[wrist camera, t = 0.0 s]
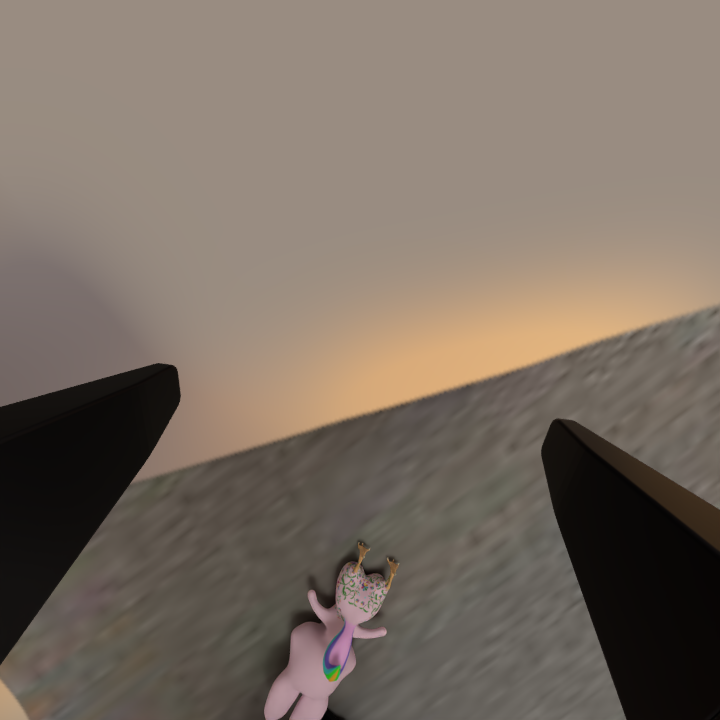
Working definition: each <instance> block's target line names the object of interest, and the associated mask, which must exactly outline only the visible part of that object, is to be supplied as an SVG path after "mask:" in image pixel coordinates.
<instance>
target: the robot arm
mask: <svg viewBox="0 0 720 720" xmlns="http://www.w3.org/2000/svg"><path fill="white" fill-rule="evenodd" d="M180 397H181V395H180V387H179V378H178V371H177V369H176V367H175V366H173V365H168V364H160V363H157V364H153V365H150V366H146V367H142V368H139V369H135V370H131V371H128V372H124V373H120V374H117V375H114V376H110V377H106V378H102V379H99V380H95V381H92V382H88V383H84V384H81V385H78V386H74V387H70V388H67V389H63V390H60V391H56V392H52V393H49V394H45V395H41V396H38V397H34V398H31V399H27V400H23V401H20V402H16V403H13V404H9V405H6V406H2V407H0V665H1V664H2V662H3V661H4V659H5V658H6V657H7V655H8V654H9V652H10V651H11V650H12V648H13V647H14V645H15V644H16V643H17V641H18V640H19V638H20V637H21V636H22V634H23V633H24V631H25V630H26V629H27V627H28V626H29V624H30V623H31V622H32V620H33V619H34V617H35V616H36V615H37V613H38V612H39V610H40V609H41V608H42V606H43V605H44V603H45V602H46V601H47V599H48V598H49V596H50V595H51V594H52V592H53V591H54V589H55V588H56V587H57V585H58V584H59V582H60V581H61V580H62V578H63V577H64V575H65V574H66V573H67V571H68V570H69V568H70V567H71V566H72V564H73V563H74V561H75V560H76V559H77V557H78V556H79V554H80V553H81V552H82V550H83V549H84V547H85V546H86V545H87V543H88V542H89V540H90V539H91V538H92V536H93V535H94V533H95V532H96V531H97V529H98V528H99V526H100V525H101V524H102V522H103V521H104V519H105V518H106V517H107V515H108V514H109V512H110V511H111V510H112V508H113V507H114V505H115V504H116V503H117V501H118V500H119V498H120V497H121V496H122V494H123V493H124V491H125V490H126V489H127V487H128V486H129V484H130V483H131V482H132V480H133V479H134V477H135V476H136V475H137V473H138V472H139V470H140V469H141V468H142V466H143V465H144V463H145V462H146V460H147V459H148V457H149V456H150V454H151V453H152V451H153V449H154V448H155V446H156V444H157V442H158V441H159V439H160V437H161V435H162V434H163V432H164V430H165V428H166V426H167V425H168V423H169V421H170V419H171V417H172V415H173V414H174V412H175V410H176V409H177V407H178V405H179V402H180ZM541 456H542V461H543V465H544V470H545V474H546V479H547V483H548V488H549V492H550V496H551V501H552V505H553V509H554V513H555V516H556V519H557V522H558V525H559V528H560V531H561V534H562V537H563V540H564V543H565V545H566V548H567V551H568V554H569V557H570V560H571V562H572V565H573V568H574V571H575V574H576V577H577V580H578V582H579V585H580V588H581V591H582V594H583V597H584V600H585V602H586V605H587V608H588V611H589V614H590V617H591V620H592V622H593V625H594V628H595V631H596V634H597V637H598V640H599V642H600V645H601V648H602V651H603V654H604V657H605V660H606V662H607V665H608V668H609V671H610V674H611V677H612V680H613V682H614V685H615V688H616V691H617V694H618V697H619V700H620V702H621V705H622V708H623V711H624V714H625V717H626V720H720V510H719V509H718V508H716V507H714V506H713V505H711V504H710V503H708V502H706V501H705V500H703V499H701V498H700V497H698V496H696V495H695V494H693V493H692V492H690V491H688V490H687V489H685V488H683V487H682V486H680V485H678V484H677V483H675V482H674V481H672V480H670V479H669V478H667V477H665V476H664V475H662V474H660V473H659V472H657V471H656V470H654V469H652V468H651V467H649V466H647V465H646V464H644V463H643V462H641V461H639V460H638V459H636V458H634V457H633V456H631V455H629V454H628V453H626V452H625V451H623V450H621V449H620V448H618V447H616V446H615V445H613V444H611V443H610V442H608V441H607V440H605V439H603V438H602V437H600V436H598V435H597V434H595V433H593V432H592V431H590V430H589V429H587V428H585V427H584V426H582V425H580V424H579V423H577V422H575V421H573V420H567V419H560V418H557V419H555V420H553V421H552V423H551V425H550V427H549V430H548V432H547V435H546V437H545V440H544V442H543V445H542V449H541ZM321 720H338V719H337V718H336V717H335V716H334V715H333V714H332V713H330V712H329V711H328V710H327V709H326V712H325V713H324V715H323V717H322V718H321Z"/></svg>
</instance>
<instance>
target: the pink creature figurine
mask: <svg viewBox="0 0 720 720" xmlns="http://www.w3.org/2000/svg"><path fill="white" fill-rule="evenodd" d="M358 548H359V549H360V557H359V560H358V562H354V561H352V562H348V563H346V564H345V565H344V567H343V568H342V570H341V572H340V574H339V576H338V580H337V584H336V604H335V605H334V606H332V607H331V608H328V609H327V608H324V607H323V606H322V605H321V604H320V603H319V602H318V601H317V597H316V593H315V591H314V590H309V591H308V599H309V601H310V604H311V606H312V608H313V610H314V612H315V613H316V615H317V616H318V617H319V618H320V620H321V621H322V623H320V624H319V623H315V622H305V623H302V624H301V625H299V626H297V627H296V628H295V629H294V630H293V631H292V634H291V646H290V660H289V664H288V666H287V667H286V668H285V669H284V671H283V672H282V673H281V674H280V675H279V676H278V677H277V678H276V680H275V681H274V683H273V685H272V687H271V689H270V692H269V695H268V698H267V701H266V704H265V709H264V715H265V718H266V720H278V719H279V718H281V717H282V716H284V715H285V714H286V712H287V711H288V710H289V708H290V707H291V705H292V704H293V703H294V701H295V700H296V698H297V696H298V694H299V693H302V696H301V697H300V699H299V701H298V703H297V704H296V706H295V708H294V710H293V712H292V714H291V716H290V718H289V720H321V718H322V717H323V715H324V713H325V712H326V709H327V706H328V696H329V695H330V694H331V693H332V692H333V691H334V690H335V689H336V687H337V686H338V685H339V683H340V682H341V680H342V679H343V678H344V677H345V676H347V675H348V674H349V673H350V672H351V671H352V670H353V669H354V667H355V665H356V657H355V653H354V650H353V647H352V645H351V644H352V637H354V638H376V637H382V636H385V635H386V633H387V630H386V628H385V627H378V628H376V629H367V628H363V627H361V626H359V625H358V624H359V623H363V622H366V621H368V620H370V619H371V618H372V617H373V616H374V615H375V614H376V613H377V612H378V611H379V609H380V607H381V605H382V603H383V601H384V599H385V597H386V594H387V592H388V589H390V586H391V581H392V578H393V576H394V575H396V574H397V573H395V572H396V569H397V568H398V565H399V563H398V564H395V563H393V562H394V559H393V561H392V562H390V561H389V559H388V558H387V561H388V563H389V565H390V566H391V567H390V569H391V573H390V576H389V578H388V579H387V580H385V579H384V577H383V576H382V575H380V574H378V573H373V574H370V575H366V574H365V573H364V569H363V567H362V566H361V565H360V563H361V561H362V559H363V558H365V554H366V552H367V551H369V550H370V548H369V549H366V548H365V547H363V543H362V546H361V545H359V543H358Z"/></svg>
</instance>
